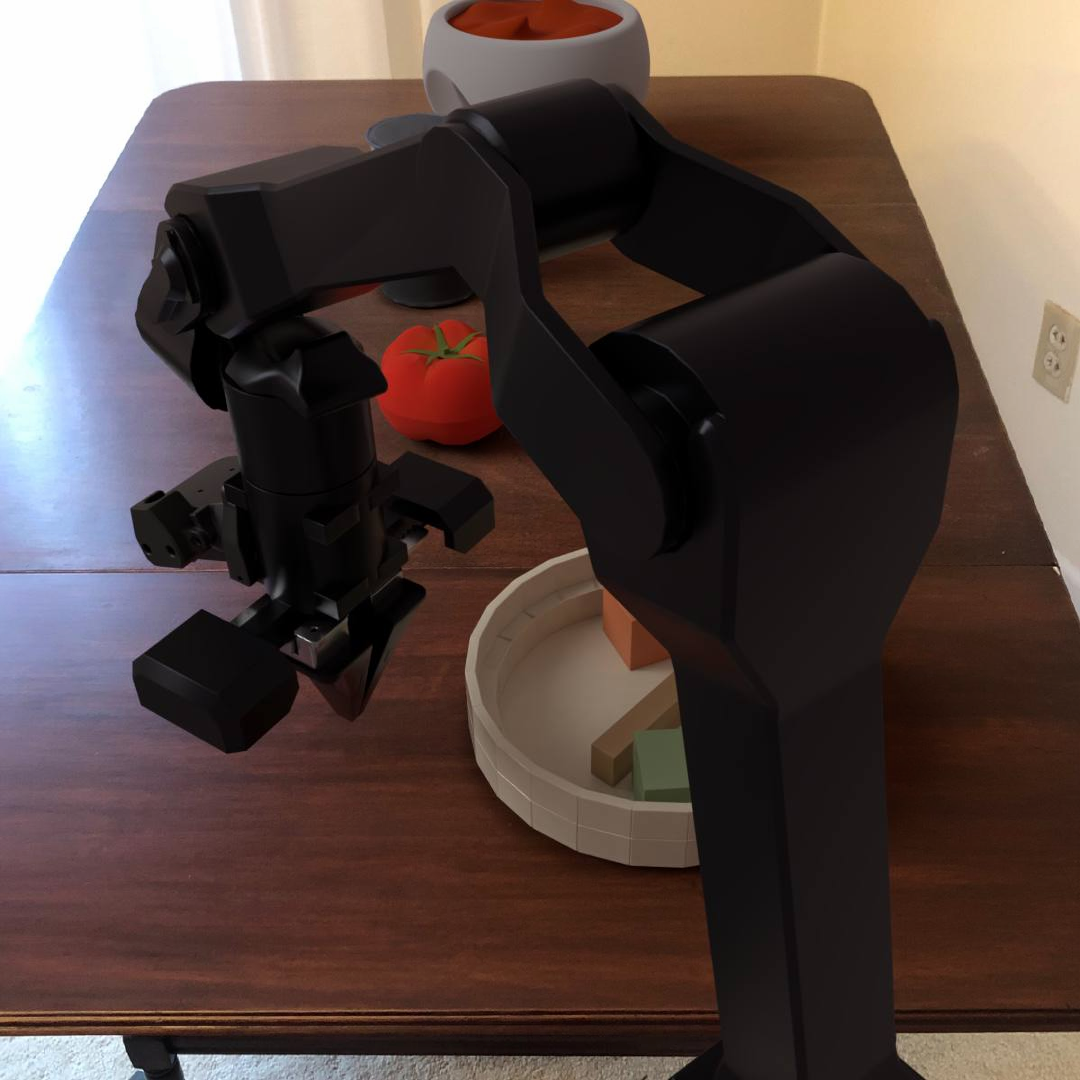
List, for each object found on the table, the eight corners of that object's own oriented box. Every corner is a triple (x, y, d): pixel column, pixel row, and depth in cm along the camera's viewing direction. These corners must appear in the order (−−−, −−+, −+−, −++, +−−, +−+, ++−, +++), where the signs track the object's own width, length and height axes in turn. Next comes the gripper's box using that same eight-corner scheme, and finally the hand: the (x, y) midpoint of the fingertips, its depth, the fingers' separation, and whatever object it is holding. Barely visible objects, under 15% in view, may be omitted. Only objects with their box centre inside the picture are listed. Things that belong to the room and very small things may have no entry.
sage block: (717, 835, 63) (723, 784, 61) (641, 840, 63) (644, 790, 61) (704, 776, 67) (709, 725, 64) (631, 781, 66) (633, 730, 64)
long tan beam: (739, 670, 73) (743, 641, 72) (612, 788, 66) (614, 758, 65) (718, 658, 74) (721, 629, 72) (590, 773, 67) (590, 743, 65)
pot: (653, 137, 144) (660, -25, 133) (636, 221, 125) (642, 41, 114) (454, 130, 147) (444, -29, 136) (408, 210, 128) (393, 34, 117)
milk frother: (475, 311, 111) (466, 150, 101) (302, 309, 111) (278, 149, 102) (487, 243, 122) (480, 93, 113) (330, 243, 122) (311, 93, 113)
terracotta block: (689, 652, 74) (693, 603, 72) (629, 671, 73) (631, 621, 71) (659, 612, 77) (662, 563, 75) (601, 629, 76) (602, 580, 74)
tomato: (491, 473, 90) (487, 386, 86) (357, 449, 93) (346, 363, 89) (537, 400, 98) (536, 317, 94) (412, 380, 101) (405, 298, 97)
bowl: (903, 835, 64) (920, 771, 61) (506, 908, 61) (503, 844, 58) (765, 580, 80) (773, 520, 77) (446, 627, 77) (441, 566, 74)
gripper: (313, 318, 61) (348, 560, 71) (0, 507, 49) (94, 767, 59) (495, 379, 56) (506, 630, 66) (197, 605, 44) (265, 872, 54)
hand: (349, 714), depth 61 cm, fingers closed
